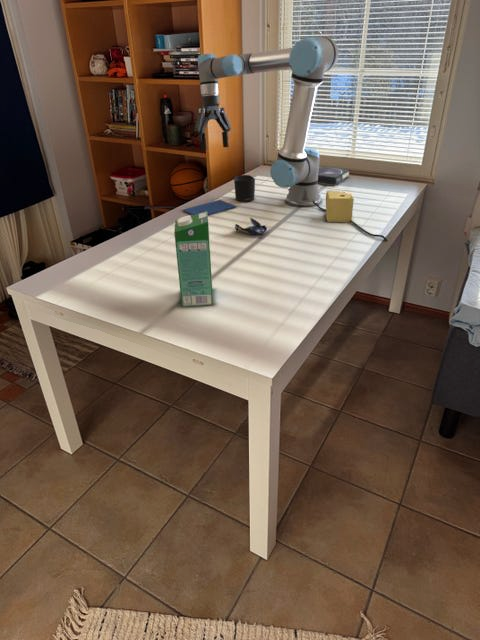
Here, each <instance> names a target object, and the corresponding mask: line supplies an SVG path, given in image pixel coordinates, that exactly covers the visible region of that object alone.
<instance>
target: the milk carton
mask: <svg viewBox="0 0 480 640" xmlns="http://www.w3.org/2000/svg"><path fill="white" fill-rule="evenodd" d="M173 233H174V234H173V235H174V243H175V253H176V262H177V272H178V282H179V292H180V301H181V307H196V306H197V307H198V306H199V307H200V306H212V305H214V294H213V293H214V292H213V277H212V262H211V261H212V260H211V243H210V229H209V215H208V213H207V211H206V212H202V213H199V214H196V215H185V216H182V217H180V218H178V219H176V220H175V222H174V231H173Z"/></svg>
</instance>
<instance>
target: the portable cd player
mask: <svg viewBox="0 0 480 640" xmlns="http://www.w3.org/2000/svg"><path fill="white" fill-rule="evenodd" d="M349 176H350V171H349V169H346V168H338V167H330V166H321V165H319V170H318V184H320V185H327V186H337V185H338V184H340V183H342V182H343V181H345V180H346V179H348V178H349Z"/></svg>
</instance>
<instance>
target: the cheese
mask: <svg viewBox="0 0 480 640" xmlns="http://www.w3.org/2000/svg"><path fill="white" fill-rule="evenodd" d="M354 201H355V199H354V196H353V193H348V192H346V191H343V190H342V191H341V190H326V194H325V209H326V211H325V216H326V222H330V223H342V222H343V223H351V222H350V220H351V221H353V219H352V218H353V209H354Z"/></svg>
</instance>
